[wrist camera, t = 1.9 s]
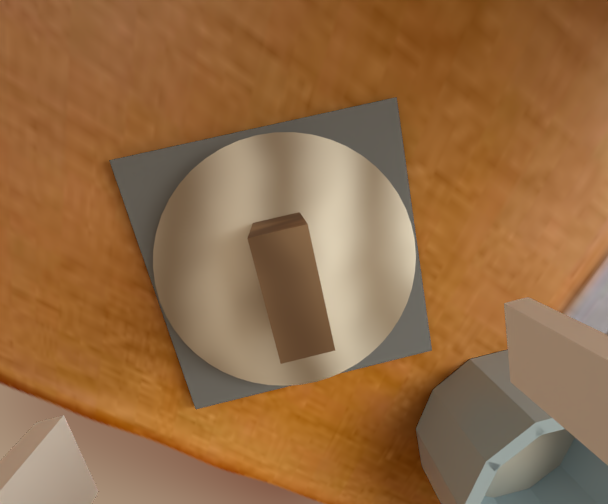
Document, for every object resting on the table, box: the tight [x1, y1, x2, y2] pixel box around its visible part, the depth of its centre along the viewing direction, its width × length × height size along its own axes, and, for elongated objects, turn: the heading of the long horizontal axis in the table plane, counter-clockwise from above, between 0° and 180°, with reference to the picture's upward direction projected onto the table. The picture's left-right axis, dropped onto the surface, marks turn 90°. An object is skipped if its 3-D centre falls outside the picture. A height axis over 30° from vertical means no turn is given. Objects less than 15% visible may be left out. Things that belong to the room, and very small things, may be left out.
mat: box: [109, 97, 432, 409], centre depth 24 cm, size 18×18×1 cm
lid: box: [153, 132, 416, 386], centre depth 20 cm, size 17×17×6 cm
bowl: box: [416, 350, 608, 504], centre depth 26 cm, size 14×14×7 cm
